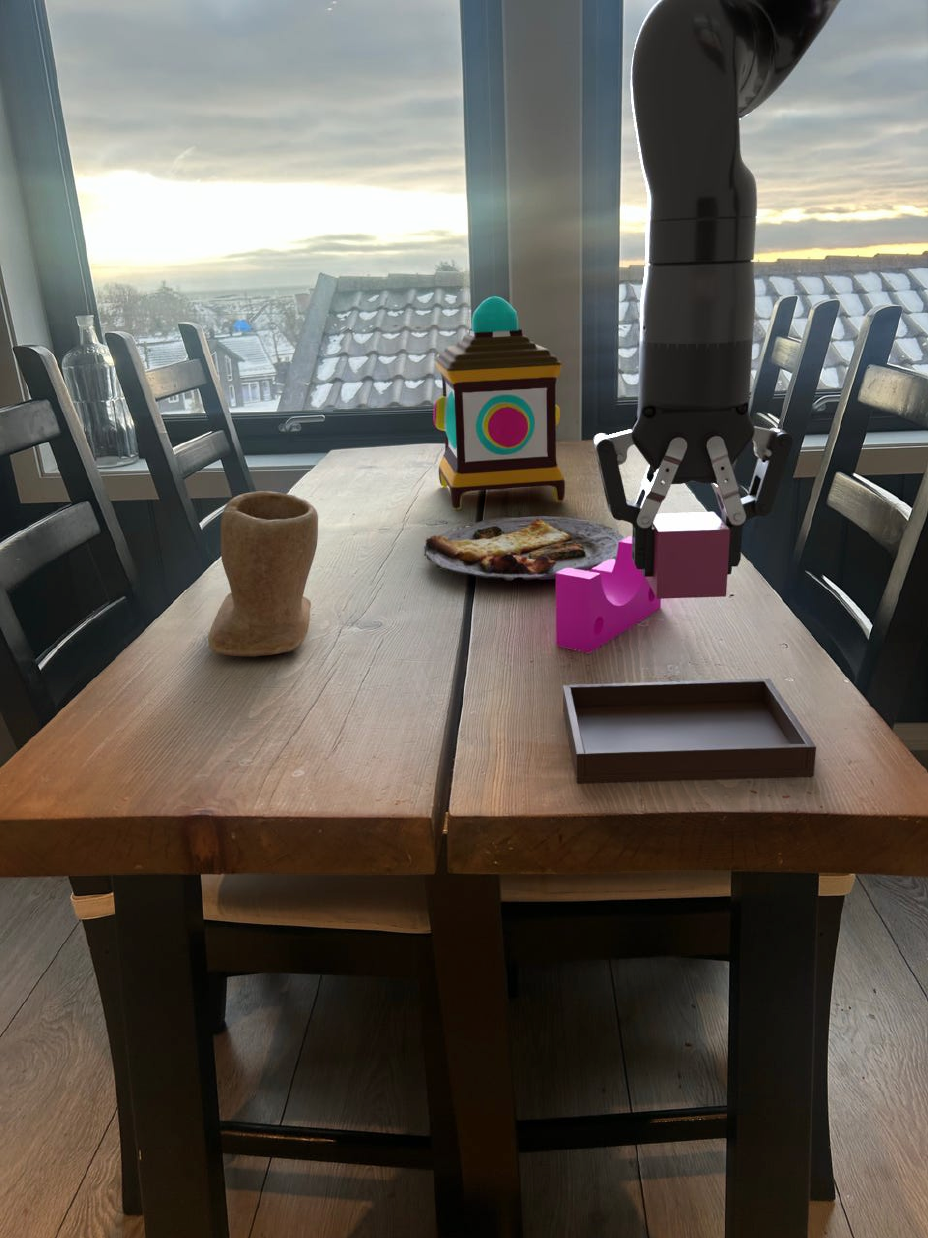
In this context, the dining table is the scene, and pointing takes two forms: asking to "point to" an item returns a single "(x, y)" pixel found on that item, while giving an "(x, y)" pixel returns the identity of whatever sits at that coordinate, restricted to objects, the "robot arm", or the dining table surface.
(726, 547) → the cube
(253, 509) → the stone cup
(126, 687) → the dining table surface
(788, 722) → the tray
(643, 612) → the toy block
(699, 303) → the robot arm
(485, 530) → the food plate
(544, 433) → the decorative lantern
